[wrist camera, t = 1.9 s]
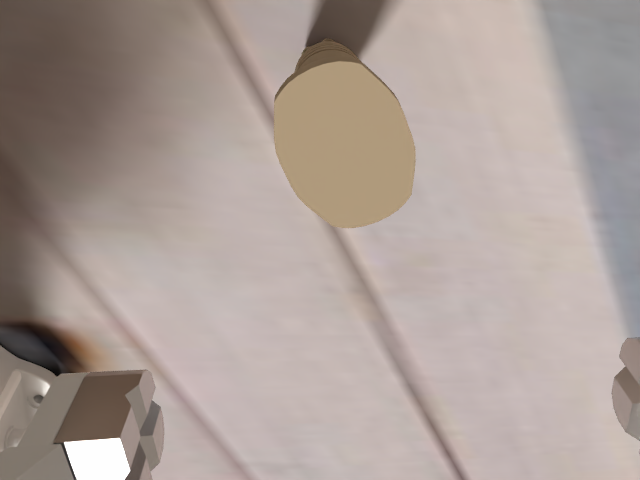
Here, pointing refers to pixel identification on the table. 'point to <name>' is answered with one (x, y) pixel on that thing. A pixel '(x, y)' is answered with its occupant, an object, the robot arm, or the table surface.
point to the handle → (343, 138)
